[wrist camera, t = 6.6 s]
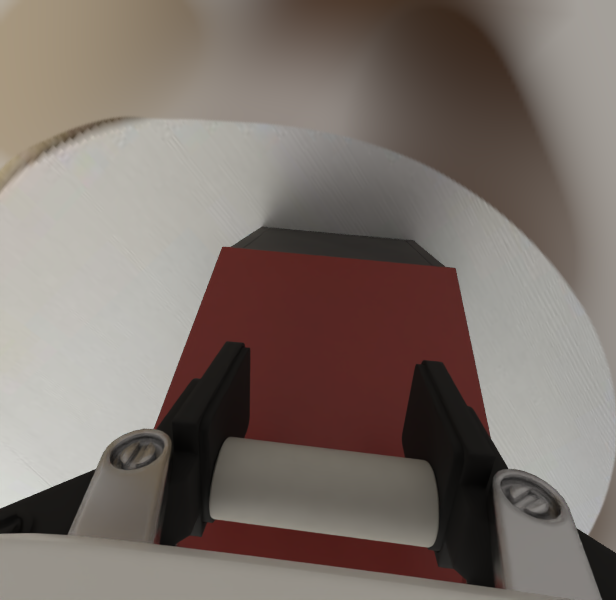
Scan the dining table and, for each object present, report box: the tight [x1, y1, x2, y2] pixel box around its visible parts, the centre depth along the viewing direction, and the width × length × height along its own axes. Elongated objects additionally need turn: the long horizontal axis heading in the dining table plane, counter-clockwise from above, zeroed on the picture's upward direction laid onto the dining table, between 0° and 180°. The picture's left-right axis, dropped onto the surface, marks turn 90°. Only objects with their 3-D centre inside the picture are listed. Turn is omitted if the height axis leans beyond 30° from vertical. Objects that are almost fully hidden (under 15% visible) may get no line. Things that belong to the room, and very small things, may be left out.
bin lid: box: [154, 247, 491, 583], centre depth 13 cm, size 14×13×6 cm
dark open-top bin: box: [232, 227, 445, 267], centre depth 26 cm, size 14×13×10 cm
